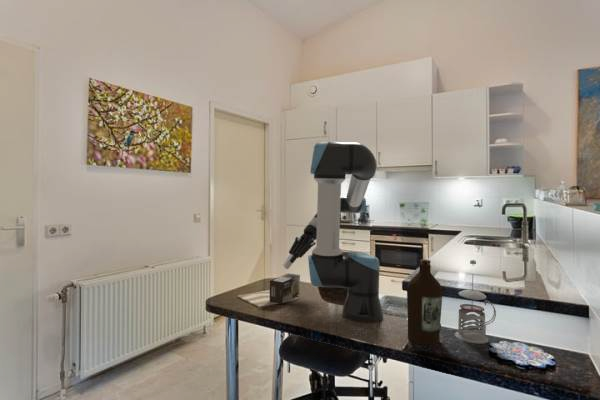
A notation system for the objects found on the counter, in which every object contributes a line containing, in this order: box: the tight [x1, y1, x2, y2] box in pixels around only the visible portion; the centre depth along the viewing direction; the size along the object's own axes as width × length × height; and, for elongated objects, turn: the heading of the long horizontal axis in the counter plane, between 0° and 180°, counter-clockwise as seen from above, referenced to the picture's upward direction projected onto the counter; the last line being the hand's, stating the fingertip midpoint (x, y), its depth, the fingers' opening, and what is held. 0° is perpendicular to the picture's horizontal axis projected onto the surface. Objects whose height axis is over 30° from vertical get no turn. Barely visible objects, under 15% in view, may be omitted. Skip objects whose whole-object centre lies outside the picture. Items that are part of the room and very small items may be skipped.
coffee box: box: [269, 273, 301, 304], centre depth 148 cm, size 9×6×16 cm
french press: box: [454, 259, 497, 344], centre depth 111 cm, size 10×12×25 cm
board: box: [236, 289, 300, 308], centre depth 149 cm, size 18×20×1 cm
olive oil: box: [406, 259, 443, 346], centre depth 109 cm, size 11×11×25 cm
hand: (285, 267), depth 155 cm, fingers closed
